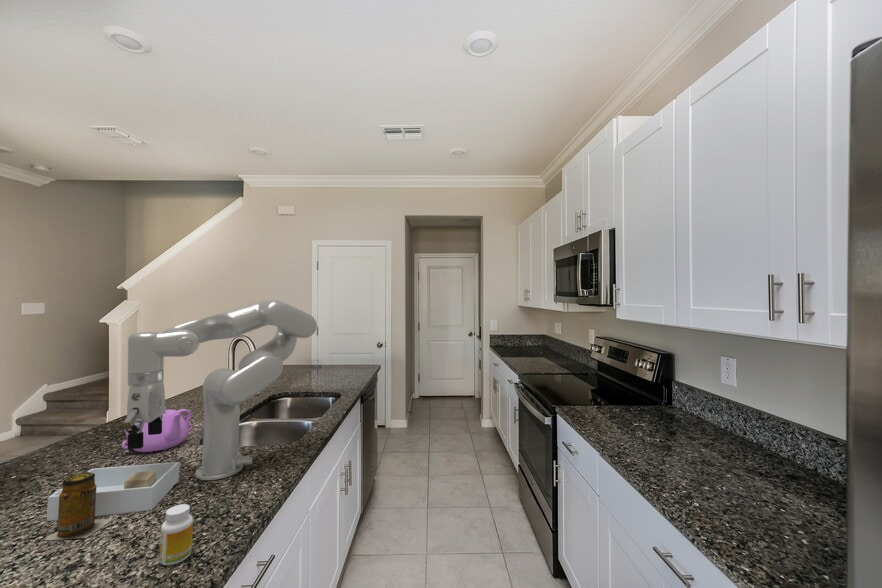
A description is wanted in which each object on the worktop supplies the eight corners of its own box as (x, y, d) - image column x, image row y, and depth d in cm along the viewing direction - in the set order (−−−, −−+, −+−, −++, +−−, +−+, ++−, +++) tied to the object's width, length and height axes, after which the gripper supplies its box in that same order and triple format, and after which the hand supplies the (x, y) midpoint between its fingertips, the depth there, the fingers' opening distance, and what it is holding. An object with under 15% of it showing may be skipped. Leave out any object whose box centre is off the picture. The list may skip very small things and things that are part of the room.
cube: (155, 489, 99) (156, 470, 99) (146, 498, 94) (147, 479, 95) (134, 491, 98) (134, 472, 98) (123, 500, 93) (124, 481, 93)
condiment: (74, 521, 85) (77, 469, 86) (112, 519, 86) (115, 469, 87) (43, 541, 78) (46, 485, 78) (85, 539, 79) (88, 484, 79)
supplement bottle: (198, 550, 76) (200, 504, 76) (173, 568, 71) (175, 518, 71) (178, 546, 77) (180, 500, 78) (152, 563, 72) (154, 514, 72)
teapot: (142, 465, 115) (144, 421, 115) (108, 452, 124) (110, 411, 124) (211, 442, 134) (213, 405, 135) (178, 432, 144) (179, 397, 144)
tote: (178, 481, 105) (179, 461, 105) (151, 510, 90) (152, 487, 91) (90, 489, 100) (91, 468, 100) (46, 521, 85) (48, 497, 85)
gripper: (145, 384, 90) (144, 453, 90) (176, 370, 107) (176, 428, 107) (109, 386, 88) (108, 456, 88) (146, 372, 105) (146, 430, 105)
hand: (145, 440), depth 97 cm, fingers open, 9 cm apart
